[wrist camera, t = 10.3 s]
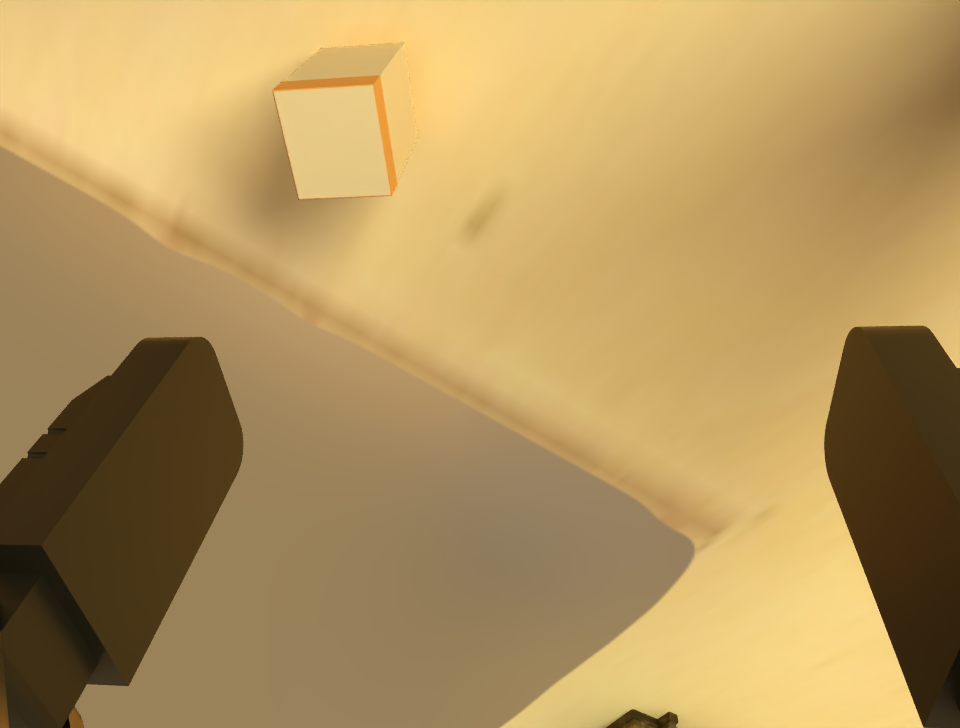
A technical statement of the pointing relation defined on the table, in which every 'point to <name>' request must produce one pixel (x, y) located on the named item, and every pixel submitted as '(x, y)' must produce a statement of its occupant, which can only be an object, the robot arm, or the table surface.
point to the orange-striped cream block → (348, 121)
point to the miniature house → (644, 721)
